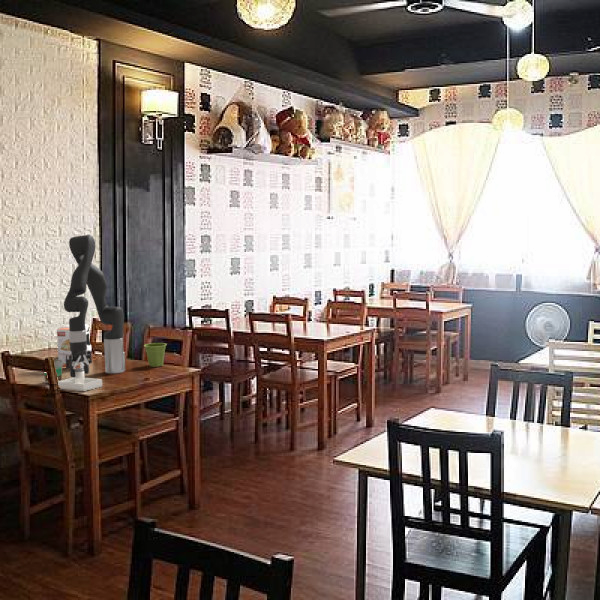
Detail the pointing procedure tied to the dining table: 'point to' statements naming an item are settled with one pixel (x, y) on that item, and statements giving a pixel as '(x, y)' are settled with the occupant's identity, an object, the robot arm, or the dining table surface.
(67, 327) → the milk container
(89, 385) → the tray
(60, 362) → the food container
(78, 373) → the shaker
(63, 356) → the cracker box
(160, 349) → the plant pot
